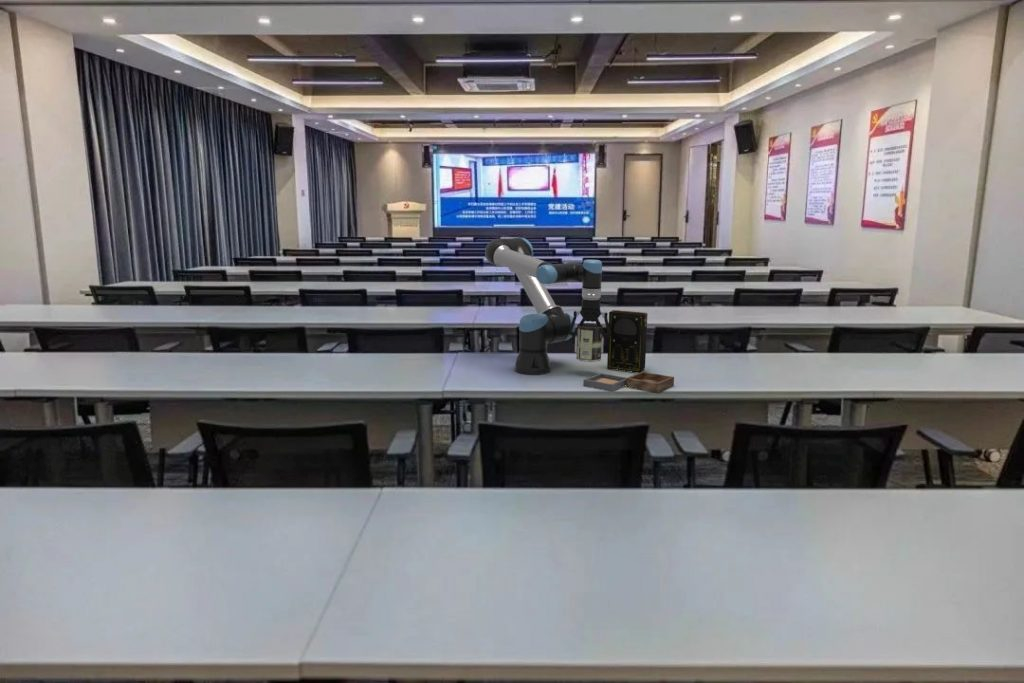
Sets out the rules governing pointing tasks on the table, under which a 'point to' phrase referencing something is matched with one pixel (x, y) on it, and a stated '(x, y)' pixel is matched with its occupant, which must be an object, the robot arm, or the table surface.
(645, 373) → the walnut tray
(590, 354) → the coffee can
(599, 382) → the checker cradle
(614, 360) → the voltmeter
